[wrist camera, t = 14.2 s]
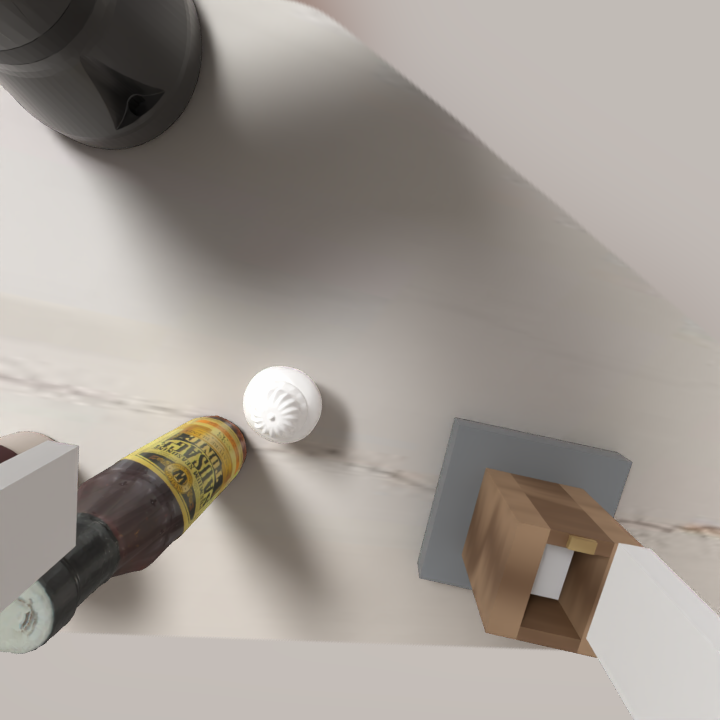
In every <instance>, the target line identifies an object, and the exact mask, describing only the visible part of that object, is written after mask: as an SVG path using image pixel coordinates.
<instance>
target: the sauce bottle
mask: <svg viewBox="0 0 720 720" xmlns="http://www.w3.org/2000/svg"><path fill="white" fill-rule="evenodd" d="M246 453H247V451H246V444H245V440H244V436H243V434H242V433H241V432H240V429H239V428H238V427H236V426H235V425H234V424H233V423H232V422H230V421H228V420H227V419H224V418H222V417H219V416H205V417H200V418H195V419H193V420H190V421H188V422H187V423H185V424H183V425H181V426H179V427H178V428H176V429H174V430H172V431H170V432H168V433H167V434H165V435H163V436H161V437H159V438H157V439H156V440H154V441H152V442H150V443H149V444H147V445H145V446H143V447H141V448H140V449H138V450H136V451H135V452H133V453H131V454H129V455H128V456H126V457H124V458H123V459H121V460H120V461H118V462H116V463H115V464H114V465H113V466H111V467H109V468H108V469H106V470H104V471H103V472H101V473H99V474H98V475H96V476H94V477H93V478H91V479H89V480H87V481H86V482H84V483H82V484H81V486H80V487H79V489H78V491H77V521H76V546H75V547H74V548H73V549H72V550H70V551H69V552H68V553H67V554H66V555H65V556H64V557H63V558H62V559H60V560H59V561H58V562H57V563H56V564H55V565H54V566H53V567H51V568H50V569H49V570H48V571H47V572H46V573H45V574H44V575H42V576H41V577H40V578H39V579H38V580H37V581H36V582H35V583H33V584H32V585H31V586H30V587H29V588H28V589H27V590H26V591H25V592H23V593H22V594H21V595H20V596H19V597H18V598H17V599H16V600H14V601H13V602H12V603H11V604H10V605H9V606H8V607H7V608H5V609H4V610H3V611H2V612H1V613H0V651H2V652H11V653H17V654H23V653H27V652H30V651H33V650H36V649H37V648H38V647H40V646H42V645H44V644H45V643H46V642H47V641H48V640H49V639H50V638H51V637H52V636H54V635H55V634H56V633H57V632H58V631H59V630H60V629H61V628H62V627H63V626H65V625H66V624H67V623H68V622H69V621H70V620H71V618H72V617H73V615H74V613H75V610H76V608H77V607H78V606H79V605H80V604H81V603H82V602H83V601H84V600H85V599H86V598H87V597H88V596H89V595H90V594H91V593H93V592H94V591H95V590H96V589H97V588H98V587H99V586H100V585H102V584H103V583H106V582H107V581H108V580H109V579H110V578H111V577H114V576H118V575H122V574H126V573H129V572H133V571H140V570H143V569H144V568H146V567H148V566H149V565H150V564H151V563H153V562H154V561H155V560H156V559H157V557H158V556H159V555H160V554H161V553H162V552H163V551H164V550H165V549H166V548H167V547H168V546H169V545H170V544H171V543H172V542H173V541H175V540H176V539H178V538H179V537H180V536H181V535H182V534H183V533H184V532H185V531H186V530H187V529H188V528H189V526H190V525H191V524H192V523H193V522H194V521H195V520H196V519H197V518H198V517H199V516H200V515H201V514H202V512H203V511H204V510H205V509H206V508H207V507H208V506H209V505H210V504H211V503H212V502H213V500H214V499H215V498H216V497H217V496H218V495H219V494H220V493H221V492H222V491H223V490H224V489H225V488H226V487H227V486H228V484H229V483H230V482H231V481H232V480H233V479H234V478H235V477H236V475H237V474H238V472H239V470H240V469H241V467H242V465H243V463H244V460H245V457H246Z"/></svg>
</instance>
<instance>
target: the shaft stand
mask: <svg viewBox="0 0 720 720" xmlns="http://www.w3.org/2000/svg"><path fill="white" fill-rule="evenodd" d="M631 465H632V462H631V461H630V460H628V459H627V458H625V457H624V456H622V455H621V454H619V453H617V452H612V451H608V450H603V449H599V448H594V447H589V446H585V445H580V444H575V443H571V442H566V441H562V440H557V439H552V438H548V437H543V436H538V435H534V434H529V433H524V432H520V431H515V430H511V429H506V428H501V427H497V426H492V425H487V424H483V423H478V422H474V421H469V420H464V419H460V418H455V419H454V423H453V427H452V431H451V435H450V439H449V442H448V446H447V450H446V454H445V458H444V462H443V466H442V470H441V473H440V477H439V481H438V485H437V489H436V493H435V497H434V501H433V504H432V508H431V512H430V516H429V520H428V524H427V528H426V532H425V535H424V539H423V543H422V547H421V551H420V555H419V559H418V571H419V578H421V579H426V580H430V581H435V582H439V583H444V584H448V585H453V586H457V587H462V588H466V589H471V590H472V587H471V584H470V581H469V577H468V574H467V571H466V568H465V564H464V561H463V558H462V552H463V548H464V544H465V541H466V537H467V534H468V530H469V526H470V523H471V519H472V516H473V512H474V509H475V505H476V501H477V498H478V494H479V491H480V487H481V483H482V480H483V476H484V473H485V469H486V468H490V469H494V470H499V471H503V472H508V473H512V474H517V475H521V476H526V477H531V478H535V479H540V480H544V481H549V482H553V483H558V484H563V485H567V486H572V487H576V488H581V489H584V490H585V491H586V492H587V493H588V494H589V495H590V496H591V497H592V498H593V499H594V500H595V501H596V502H597V503H598V504H599V505H600V506H601V507H602V508H603V509H604V510H605V511H607V512H608V513H609V514H610V515H611V516H612V517H613V518H614V515H615V512H616V509H617V506H618V503H619V500H620V497H621V494H622V491H623V488H624V485H625V482H626V479H627V477H628V474H629V471H630V468H631ZM573 553H574V551H573V550H569V549H567V548H564V547H559V546H555V545H550V544H546V546H545V549H544V552H543V555H542V559H541V562H540V565H539V568H538V571H537V574H536V578H535V581H534V584H533V587H532V590H531V593H530V594H534V595H539V596H543V597H548V598H552V599H557V600H558V599H559V596H560V593H561V590H562V587H563V584H564V581H565V578H566V574H567V571H568V568H569V565H570V562H571V559H572V556H573Z"/></svg>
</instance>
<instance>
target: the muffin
mask: <svg viewBox="0 0 720 720" xmlns="http://www.w3.org/2000/svg"><path fill="white" fill-rule="evenodd" d="M243 409H244V414H245V417H246V420H247V422H248V424H249V425H250V427H251V428H252V429H253V430H254V431H255V432H256V433H257V434H258V435H260V436H261V437H263V438H265V439H267V440H269V441H272V442H275V443H293V442H297V441H299V440H301V439H303V438H305V437H306V436H307V435H309V434H310V433H311V431H312V430H313V429H314V428H315V426H316V424H317V423H318V421H319V418H320V415H321V411H322V399H321V395H320V392H319V390H318V387H317V386H316V384H315V383H314V381H313V380H312V379H311V378H310V377H309V376H308V375H307V374H305V373H304V372H302V371H300V370H298V369H295V368H292V367H287V366H274V367H269V368H266V369H264V370H262V371H260V372H259V373H258V374H257V375H255V377H254V378H253V379H252V380H251V381H250V383H249V385H248V386H247V388H246V391H245V394H244V399H243Z"/></svg>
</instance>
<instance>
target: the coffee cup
mask: <svg viewBox="0 0 720 720" xmlns="http://www.w3.org/2000/svg"><path fill="white" fill-rule="evenodd" d="M47 440H49V441H53V440H52V439H50V438H49V437H47V436H45V435H42V434H40V433H36V432H29V431H24V432H16V433H13V434H9V435H6V436H3V437H0V464H1V463H3V462H5V461H7V460H9V459H11V458H13V457H15V456H17V455H19V454H21V453H23V452H25V451H27V450H29V449H31V448H33V447H35V446H37V445H39V444H41V443H43V442H45V441H47Z"/></svg>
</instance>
